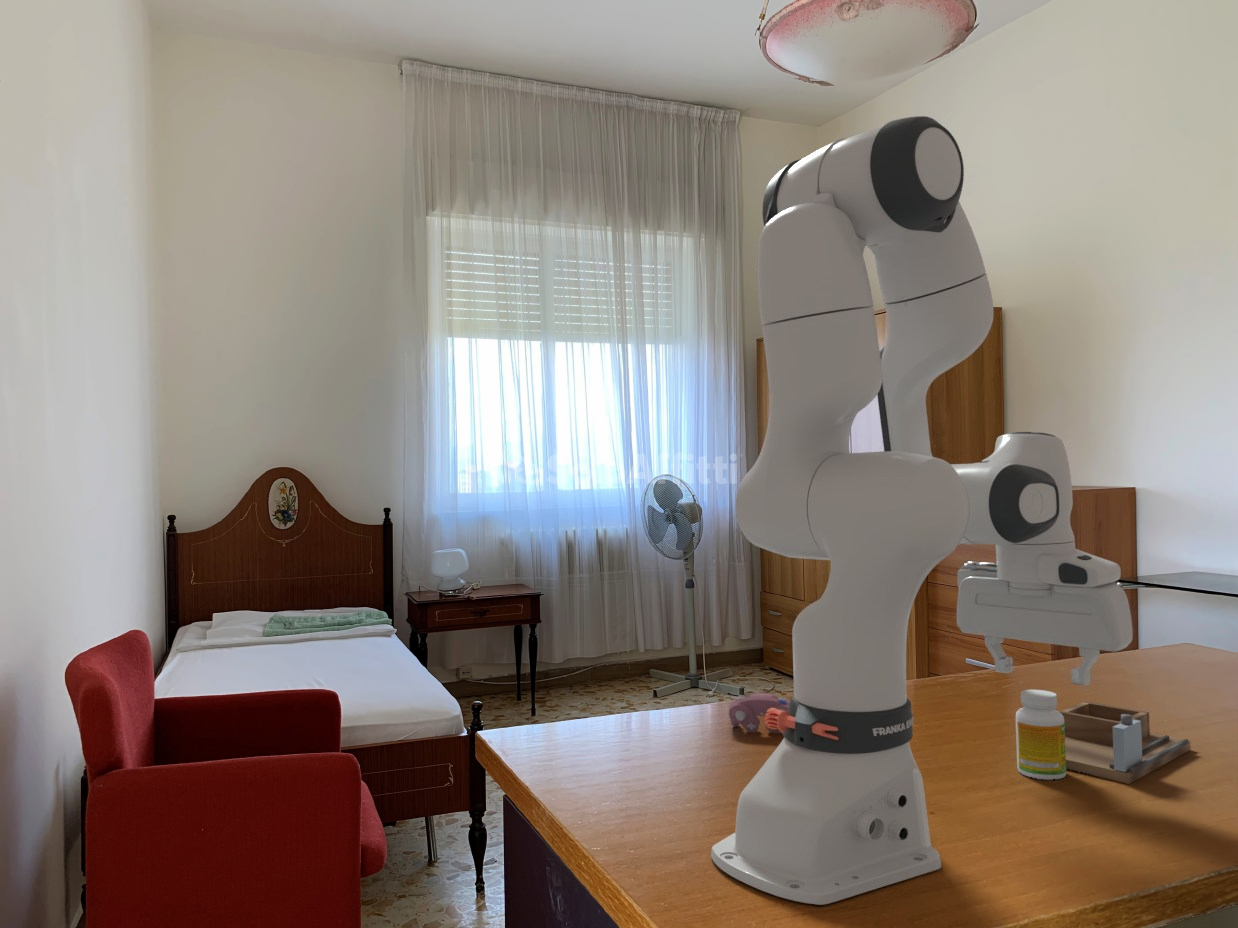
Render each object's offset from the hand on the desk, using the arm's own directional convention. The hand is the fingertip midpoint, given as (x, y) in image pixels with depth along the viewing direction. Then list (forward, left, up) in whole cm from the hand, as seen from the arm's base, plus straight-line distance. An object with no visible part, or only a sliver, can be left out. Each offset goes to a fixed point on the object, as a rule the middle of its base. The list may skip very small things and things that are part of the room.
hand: (1041, 677), depth 108 cm
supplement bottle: (-1, 0, -12) cm, 12 cm away
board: (+12, -2, -11) cm, 17 cm away
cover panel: (+5, -7, -10) cm, 14 cm away
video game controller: (-11, +36, -12) cm, 39 cm away
